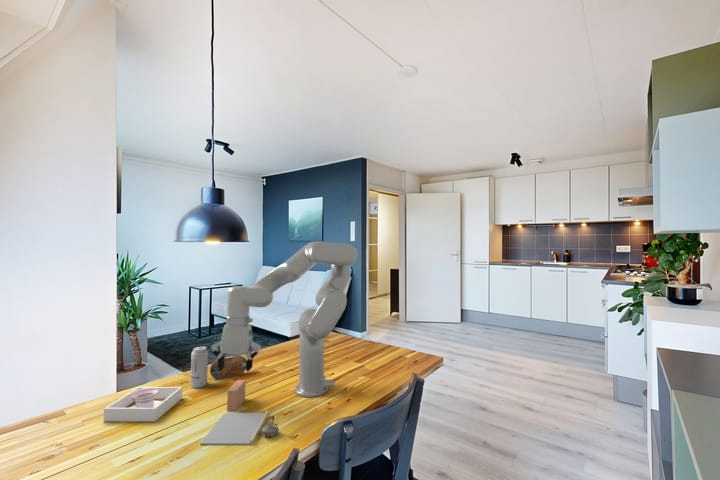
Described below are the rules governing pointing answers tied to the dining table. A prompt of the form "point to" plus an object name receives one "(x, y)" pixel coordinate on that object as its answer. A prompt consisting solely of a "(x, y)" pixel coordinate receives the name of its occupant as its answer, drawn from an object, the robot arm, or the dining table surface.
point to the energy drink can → (199, 367)
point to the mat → (236, 429)
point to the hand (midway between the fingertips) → (235, 369)
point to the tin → (229, 367)
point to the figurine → (270, 429)
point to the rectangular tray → (121, 413)
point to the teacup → (145, 398)
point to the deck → (236, 395)
